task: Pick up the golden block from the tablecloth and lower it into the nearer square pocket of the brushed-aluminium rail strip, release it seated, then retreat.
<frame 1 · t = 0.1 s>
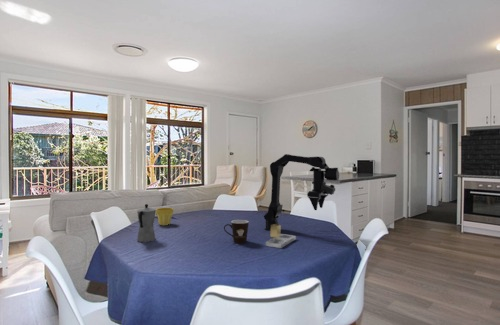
hand: (318, 208, 157), 15 cm above the table, fingers open, 9 cm apart
golden block: (275, 236, 156), on the table
coffeepot: (145, 240, 147), on the table
rail: (281, 242, 144), on the table
coffee mug: (237, 241, 146), on the table
plant pot: (164, 224, 184), on the table
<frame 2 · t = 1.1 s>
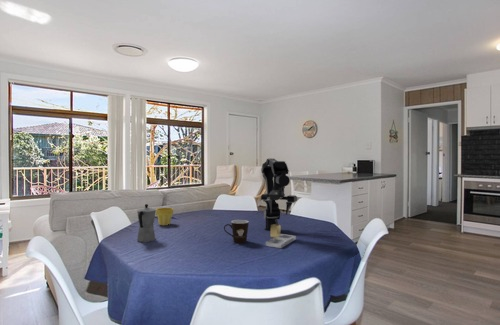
hand: (278, 213, 156), 12 cm above the table, fingers open, 9 cm apart
nothing on the table moved.
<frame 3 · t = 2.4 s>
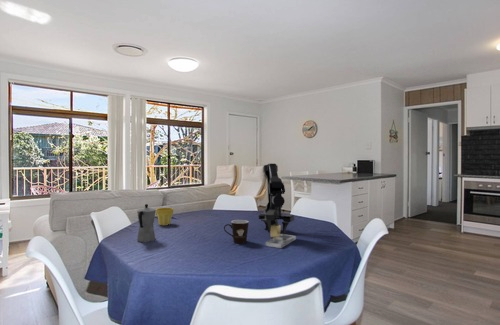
hand: (276, 233, 156), 2 cm above the table, fingers open, 8 cm apart
nothing on the table moved.
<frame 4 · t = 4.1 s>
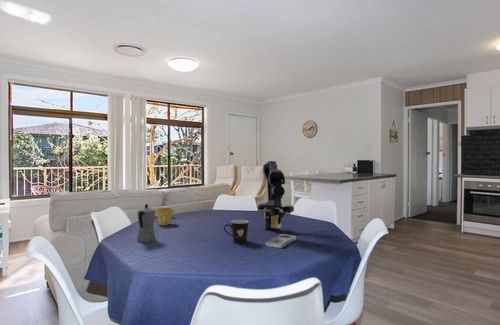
hand: (275, 223, 156), 7 cm above the table, fingers closed on golden block, 4 cm apart
golden block: (275, 227, 156), point 5 cm above the table, touching gripper
everything else where it was.
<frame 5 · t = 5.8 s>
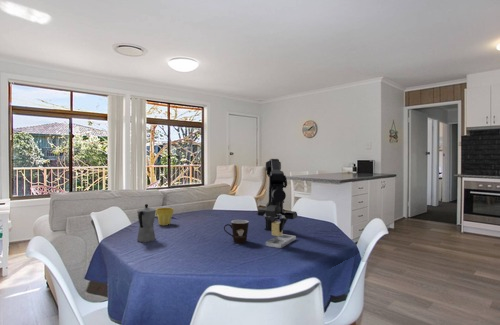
hand: (276, 231, 140), 6 cm above the table, fingers closed on golden block, 4 cm apart
golden block: (277, 234, 140), point 5 cm above the table, touching gripper
everything else where it was.
when the fingers open (2 cm above the table, at t = 7.3 s): golden block stays where it is, resting in rail.
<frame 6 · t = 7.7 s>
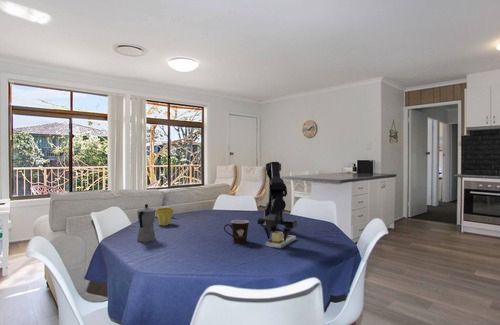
hand: (276, 240, 140), 2 cm above the table, fingers open, 8 cm apart
golden block: (277, 244, 140), resting in rail
everything else where it was.
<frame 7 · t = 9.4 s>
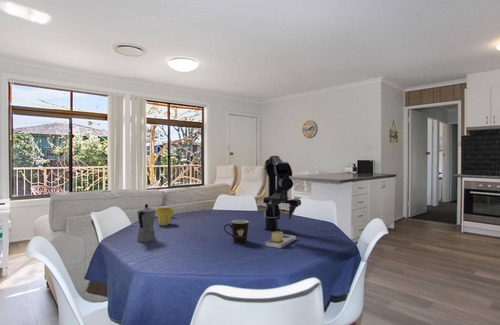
hand: (281, 218, 148), 11 cm above the table, fingers open, 9 cm apart
nothing on the table moved.
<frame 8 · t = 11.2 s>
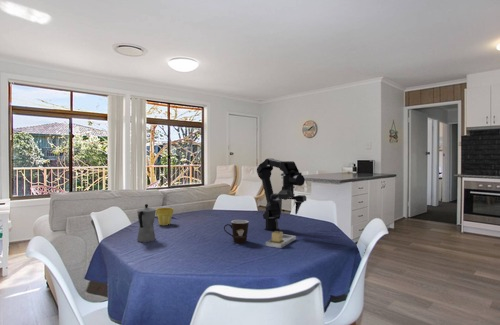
hand: (288, 213, 157), 12 cm above the table, fingers open, 9 cm apart
nothing on the table moved.
at the end: golden block 0.3 cm from the target spot on the rail, point 0.0 cm above the rail's base; golden block tilted 0°; the gripper is holding nothing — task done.
